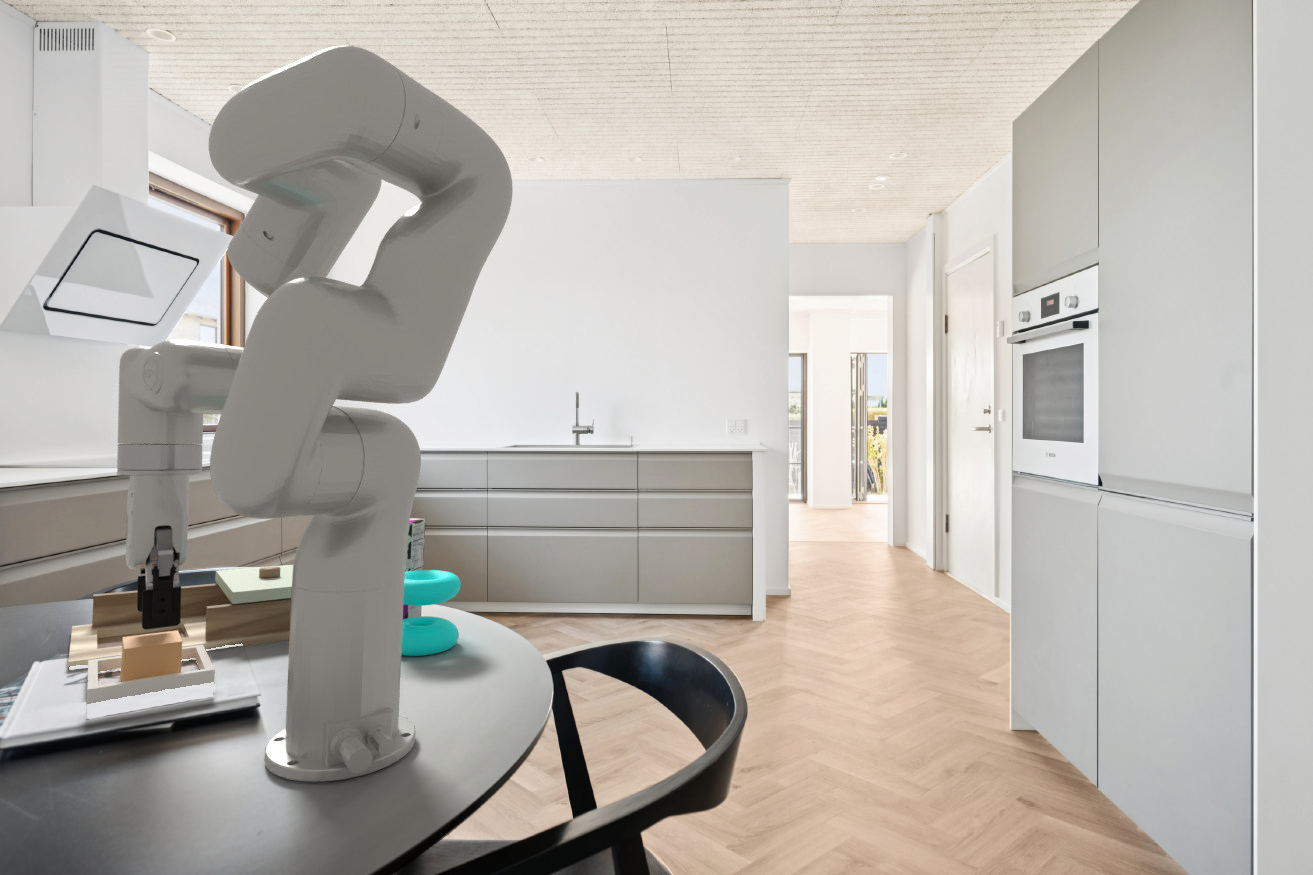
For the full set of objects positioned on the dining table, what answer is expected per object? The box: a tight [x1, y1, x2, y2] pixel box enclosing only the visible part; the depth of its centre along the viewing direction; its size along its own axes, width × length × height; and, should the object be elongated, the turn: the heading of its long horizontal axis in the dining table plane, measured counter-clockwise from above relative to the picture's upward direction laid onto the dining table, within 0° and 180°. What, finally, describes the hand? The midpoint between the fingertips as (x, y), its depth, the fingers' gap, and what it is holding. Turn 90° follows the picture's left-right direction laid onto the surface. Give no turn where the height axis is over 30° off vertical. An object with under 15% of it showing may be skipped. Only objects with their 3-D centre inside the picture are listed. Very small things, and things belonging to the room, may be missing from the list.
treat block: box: [120, 630, 182, 682], centre depth 74 cm, size 5×5×5 cm
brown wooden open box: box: [67, 583, 291, 668], centre depth 90 cm, size 17×27×7 cm, turn 130°
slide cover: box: [214, 564, 293, 604], centre depth 95 cm, size 16×11×3 cm
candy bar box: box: [403, 517, 426, 619], centre depth 103 cm, size 11×5×16 cm, turn 84°
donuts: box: [401, 569, 462, 657], centre depth 93 cm, size 10×10×10 cm
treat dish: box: [86, 645, 216, 705], centre depth 74 cm, size 11×11×3 cm
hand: (157, 617), depth 74 cm, fingers open, 9 cm apart
